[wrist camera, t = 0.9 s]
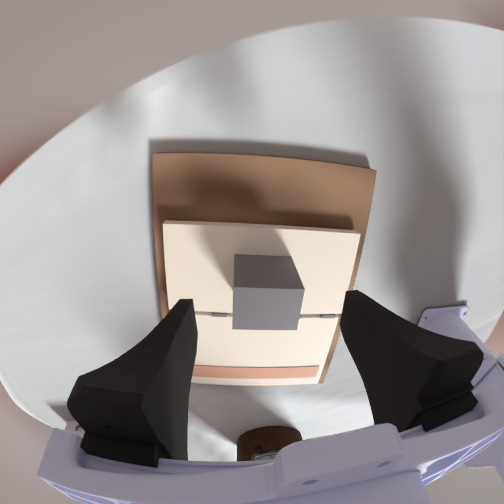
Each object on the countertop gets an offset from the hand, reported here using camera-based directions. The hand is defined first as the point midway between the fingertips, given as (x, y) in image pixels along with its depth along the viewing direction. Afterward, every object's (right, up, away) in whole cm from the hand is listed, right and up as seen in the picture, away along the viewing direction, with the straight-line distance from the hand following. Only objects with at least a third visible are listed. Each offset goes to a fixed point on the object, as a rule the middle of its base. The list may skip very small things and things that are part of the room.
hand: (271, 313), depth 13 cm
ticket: (-1, -6, +12) cm, 13 cm away
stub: (0, +2, +8) cm, 8 cm away
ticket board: (0, 0, +11) cm, 11 cm away
